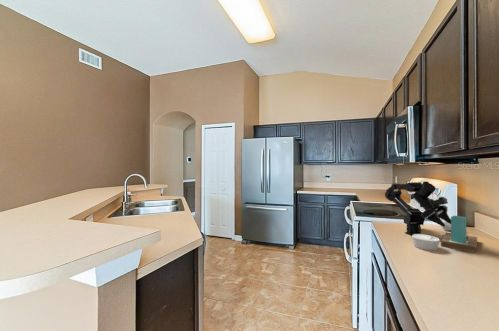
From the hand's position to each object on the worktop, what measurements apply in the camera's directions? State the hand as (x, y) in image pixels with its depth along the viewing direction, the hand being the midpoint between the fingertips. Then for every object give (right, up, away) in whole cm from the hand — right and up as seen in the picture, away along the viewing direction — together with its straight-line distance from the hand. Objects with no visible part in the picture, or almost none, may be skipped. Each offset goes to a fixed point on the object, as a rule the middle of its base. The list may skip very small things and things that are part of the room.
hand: (448, 224), depth 125 cm
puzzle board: (+6, -10, 0) cm, 12 cm away
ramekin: (-15, -11, -5) cm, 19 cm away
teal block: (+2, -7, -4) cm, 9 cm away
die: (+21, -10, +25) cm, 34 cm away
